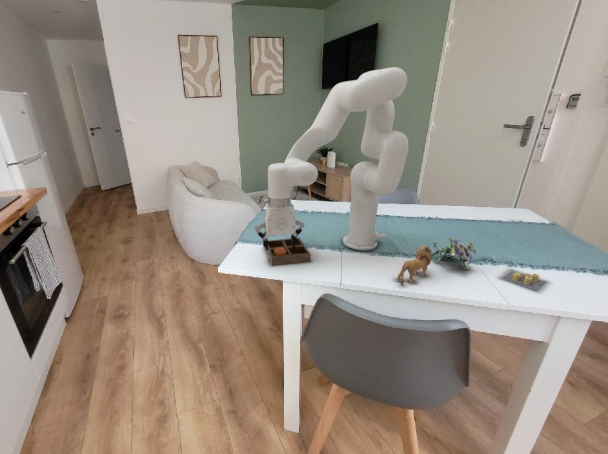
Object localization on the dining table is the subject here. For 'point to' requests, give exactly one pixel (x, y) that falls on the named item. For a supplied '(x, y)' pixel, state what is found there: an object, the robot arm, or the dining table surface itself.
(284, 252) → the orange short cylinder
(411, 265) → the lion figurine
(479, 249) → the dining table surface
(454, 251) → the passion flower
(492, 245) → the dining table surface
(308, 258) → the grid
